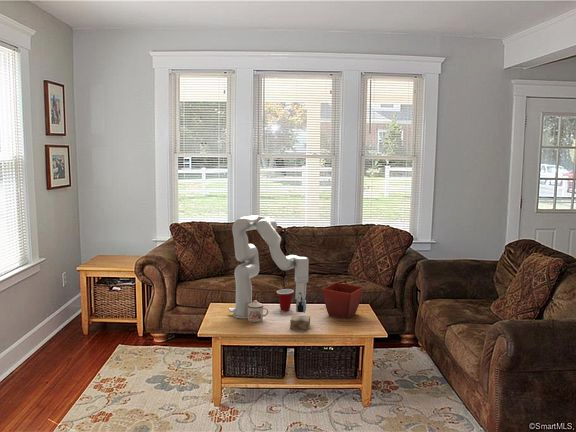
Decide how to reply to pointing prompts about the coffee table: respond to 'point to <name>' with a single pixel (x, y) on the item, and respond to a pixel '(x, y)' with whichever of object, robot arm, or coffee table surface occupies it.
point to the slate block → (303, 305)
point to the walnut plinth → (300, 322)
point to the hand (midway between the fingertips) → (301, 310)
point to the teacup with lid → (256, 311)
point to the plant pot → (342, 299)
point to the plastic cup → (285, 298)
